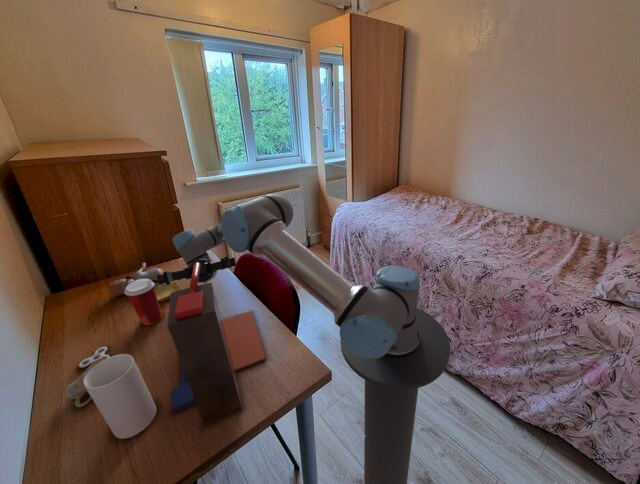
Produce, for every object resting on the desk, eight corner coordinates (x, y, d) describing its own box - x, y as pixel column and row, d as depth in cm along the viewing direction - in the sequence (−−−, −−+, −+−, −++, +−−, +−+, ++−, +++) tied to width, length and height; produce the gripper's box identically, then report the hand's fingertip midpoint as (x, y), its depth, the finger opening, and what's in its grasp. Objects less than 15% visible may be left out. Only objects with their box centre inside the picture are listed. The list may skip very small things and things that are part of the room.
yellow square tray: (151, 295, 107) (150, 290, 106) (176, 285, 113) (175, 280, 112) (158, 305, 101) (156, 300, 101) (184, 294, 107) (183, 289, 106)
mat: (251, 312, 97) (251, 311, 97) (265, 359, 79) (265, 357, 79) (213, 324, 92) (212, 323, 92) (219, 377, 74) (218, 376, 74)
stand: (235, 372, 76) (211, 281, 64) (242, 408, 67) (215, 311, 55) (202, 385, 72) (170, 292, 60) (204, 425, 63) (167, 325, 51)
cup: (123, 406, 68) (96, 358, 61) (161, 398, 69) (140, 350, 63) (105, 443, 60) (73, 393, 54) (148, 432, 62) (123, 382, 56)
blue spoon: (176, 353, 82) (175, 349, 81) (193, 347, 84) (192, 343, 83) (174, 412, 66) (172, 408, 66) (195, 403, 68) (193, 399, 68)
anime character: (172, 274, 108) (116, 297, 96) (177, 288, 110) (122, 312, 98) (150, 254, 123) (98, 272, 111) (154, 267, 125) (104, 285, 113)
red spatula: (188, 268, 69) (186, 263, 68) (207, 264, 70) (206, 259, 70) (176, 319, 53) (174, 313, 52) (202, 313, 54) (200, 307, 54)
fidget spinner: (77, 369, 77) (76, 367, 77) (90, 351, 83) (89, 349, 83) (107, 363, 79) (106, 361, 79) (117, 345, 85) (116, 343, 84)
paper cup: (167, 309, 99) (155, 275, 94) (163, 323, 93) (149, 288, 87) (141, 315, 97) (127, 280, 91) (135, 330, 90) (119, 294, 85)
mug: (66, 393, 71) (77, 353, 72) (115, 388, 77) (125, 351, 77) (58, 411, 65) (70, 367, 66) (112, 404, 71) (122, 364, 71)
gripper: (244, 271, 99) (248, 271, 80) (161, 293, 89) (142, 298, 69) (239, 250, 99) (241, 245, 80) (156, 269, 89) (135, 268, 70)
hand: (195, 269), depth 75 cm, fingers open, 13 cm apart
